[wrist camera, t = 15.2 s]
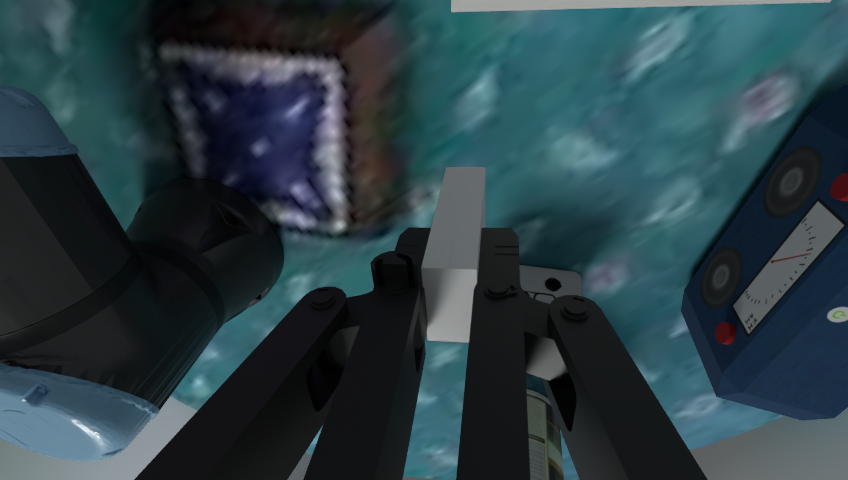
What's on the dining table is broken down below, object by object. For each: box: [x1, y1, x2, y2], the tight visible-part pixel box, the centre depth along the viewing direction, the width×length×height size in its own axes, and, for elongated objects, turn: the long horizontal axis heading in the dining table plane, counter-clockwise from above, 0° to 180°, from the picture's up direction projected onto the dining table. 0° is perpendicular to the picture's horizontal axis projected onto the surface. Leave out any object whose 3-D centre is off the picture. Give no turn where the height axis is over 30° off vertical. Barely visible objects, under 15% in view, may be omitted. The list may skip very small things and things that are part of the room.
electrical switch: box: [519, 265, 582, 304], centre depth 42 cm, size 9×5×9 cm, turn 89°
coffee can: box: [526, 389, 564, 480], centre depth 51 cm, size 10×10×14 cm
